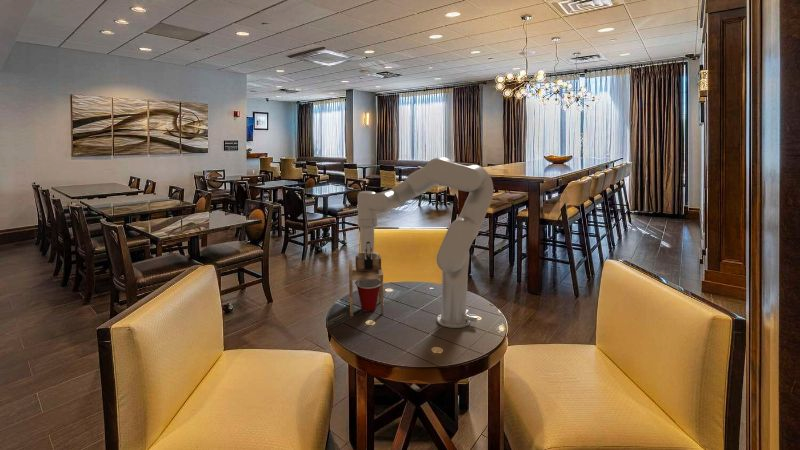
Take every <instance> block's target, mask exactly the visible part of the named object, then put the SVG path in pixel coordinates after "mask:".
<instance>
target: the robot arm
mask: <svg viewBox="0 0 800 450" xmlns="http://www.w3.org/2000/svg"><path fill="white" fill-rule="evenodd" d="M439 185H440V186H443V187H447V188H451V189H454V190H456V191H457V190H458V191H463V192H469V193H468V196H467V198H466V200H465V201H464V205H463V207H462V208H461V212H460V213H459V215H458V217H457V218H456V219H455V220H454V221H452V222H451V223H450V225H449V226H448V229H447V231H446V233H445V235H444V238H443V240H442V241H441V244H440V247H439V249H438V251H437V254H436V257H435V259H436V265H437V267H438V268H439V270H441V271H442V272H441V300H440V301H441V302H440V303H441V305H440V306H441V311H440V312H441V313H440V314H438V315H437V317H436V322H437V323H438V325H440V326H442V327H444V328H445V327H446V328H449V329H463V328H465V327H467V326H469V325H470V323H471V322H475V323H478V319H479V318H478V316H476V314H473V313H472V314H471V313H470V312H469V309H468V308H467V304H468V300H467V299H468V281H469V280H468V279H469V278H468V276H469V275H468V274H469V265H470V248H471V246H472V244H473V242H474V240H476V238H477V237H478V234H479V233H480V230H481V227H482V224H483V222H484V220H485V219H486V218H485V217H486V215H487V213H488V210H489V208H490V206H491V204H492V203H491V202H492V200H493V196H494V183H493V180H492V177H491V176H490V174H489V172H488V171H487V170H486V169H485V168H484V167H483V166H481V165H478V164H473V165H472V164H471V165H464V164H460V163H456V162H452V160H451V159H449V158H448V157H443V156H442V157H441V156H440V157H434V158H433V159H430V160H429V161H428V162H427V163H426V165H424V166H422V167H421V168H419V169H417V170H414V171H413V172H412V173H410V174H409V175H408V176H407V177H406V179H405V180H404V181H403V182H401V183H399V184H398V185H395V186H394V187H392V188H390V189H389V190H384V191H382V192H375V191H372V190H371V191H370V190H361V191H359V192H358V193H357V226H358V228H360V251H361V252H360V253H365V259H364V263H365V269H373V259H372V253H374V249H375V228H377V227H378V212H379V213H387V212H389V211H390V210H394V209H396V208H398V207H399V206H402V205H404V204H405V203H407V202H408V201H410V200H412V199H414V198H416V197H419V196H421V195H423V194H424V193H426V192H428V191H430V190H431V189H433V188H436V186H439Z"/></svg>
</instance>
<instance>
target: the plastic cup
mask: <svg viewBox="0 0 800 450" xmlns="http://www.w3.org/2000/svg"><path fill="white" fill-rule="evenodd" d="M354 284H355V285H356V288H357V291H358V298H359V302H360V307H361V310H362V311H363V312H373V311H375V310H376V309H377V305H378V304H377V303H378V300H379V288H380V285H381V280H380V279H361V280H355V283H354Z"/></svg>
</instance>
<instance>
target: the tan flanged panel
mask: <svg viewBox="0 0 800 450" xmlns="http://www.w3.org/2000/svg"><path fill="white" fill-rule="evenodd" d="M361 279H380V280H381V285H380V288H379V293H378V304H380V315H381V316H383V315H384V273H383V270H382V268H381V270H359V271H356V265H354V266H353V260H352V259H348V280H349V281H348V283H349V284H348V285H349V287H348V288H349V290H348V291H349V317H354V302H353V301H354V295H353V293H354V292H353V288H354V287H353V281H356V280H361Z"/></svg>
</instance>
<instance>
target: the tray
mask: <svg viewBox="0 0 800 450" xmlns="http://www.w3.org/2000/svg"><path fill="white" fill-rule="evenodd" d="M364 259H365V253H364V252H363V253H362V252H358V253H357V255H355V266H356V271H359V270H381V269H382V258H381V254H379V253H378V252H374V251H373V252H372V259H373V269H365V263H364Z"/></svg>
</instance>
